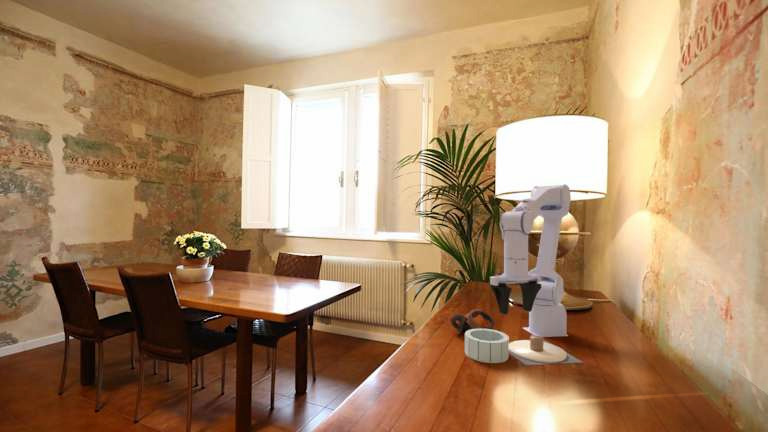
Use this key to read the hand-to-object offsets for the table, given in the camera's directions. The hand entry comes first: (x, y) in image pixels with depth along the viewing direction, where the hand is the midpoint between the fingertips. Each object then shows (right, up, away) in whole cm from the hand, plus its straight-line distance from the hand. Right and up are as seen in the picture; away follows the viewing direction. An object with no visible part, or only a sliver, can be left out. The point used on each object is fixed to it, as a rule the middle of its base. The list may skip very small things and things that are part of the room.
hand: (515, 312), depth 86 cm
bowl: (-9, -9, -4) cm, 14 cm away
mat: (+4, -10, -3) cm, 11 cm away
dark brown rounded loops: (-9, -10, +10) cm, 16 cm away
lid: (+4, -9, -3) cm, 10 cm away
